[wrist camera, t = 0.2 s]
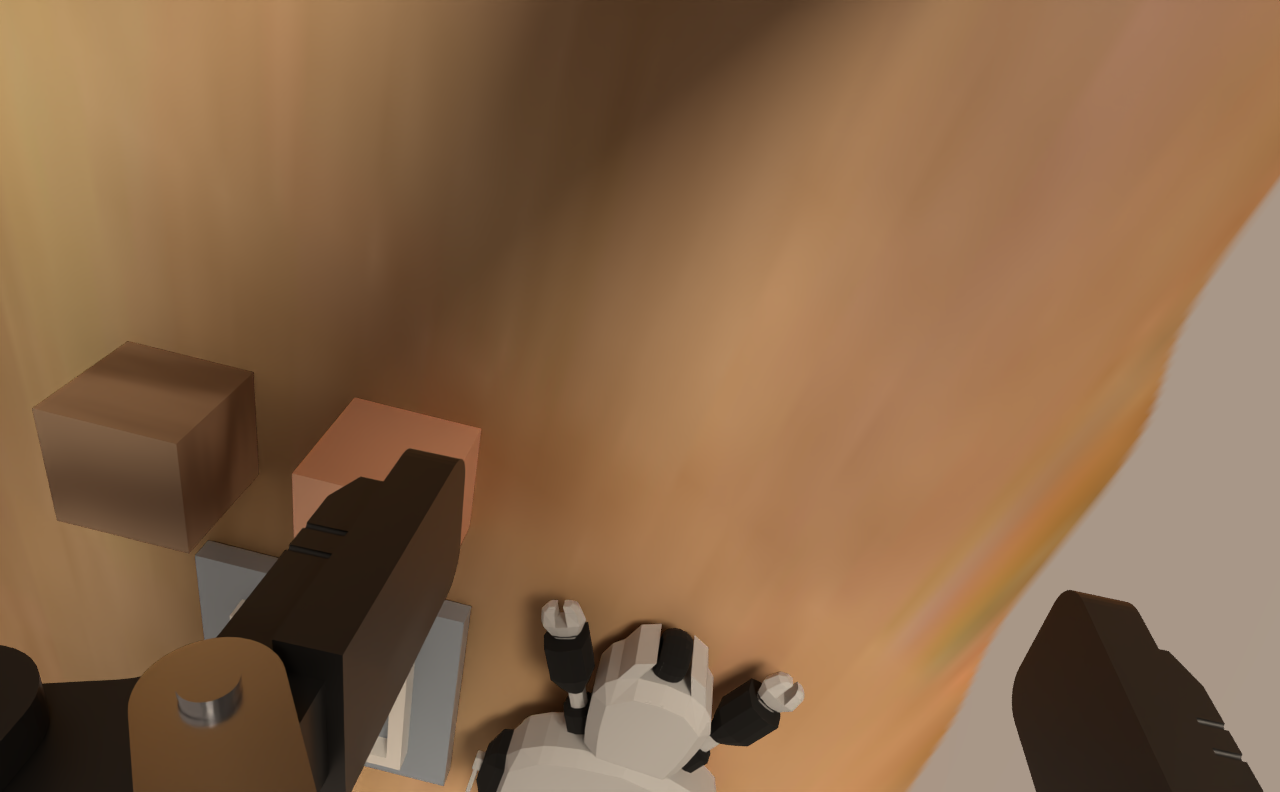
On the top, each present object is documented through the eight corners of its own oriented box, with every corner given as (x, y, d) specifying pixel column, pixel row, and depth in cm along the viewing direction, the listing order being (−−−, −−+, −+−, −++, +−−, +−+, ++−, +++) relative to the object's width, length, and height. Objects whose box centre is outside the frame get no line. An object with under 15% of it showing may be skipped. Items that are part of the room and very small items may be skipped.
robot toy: (551, 545, 36) (472, 766, 43) (526, 617, 32) (443, 848, 39) (819, 637, 37) (698, 841, 44) (828, 719, 33) (693, 929, 40)
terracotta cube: (355, 396, 32) (291, 473, 28) (482, 427, 32) (437, 509, 28) (353, 496, 35) (295, 580, 31) (470, 525, 35) (428, 613, 31)
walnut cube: (128, 339, 33) (31, 408, 28) (254, 371, 33) (176, 444, 28) (143, 443, 35) (57, 520, 31) (260, 472, 35) (189, 553, 31)
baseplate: (208, 540, 37) (180, 571, 36) (471, 606, 37) (456, 640, 36) (225, 711, 44) (203, 744, 42) (450, 768, 44) (436, 804, 42)
